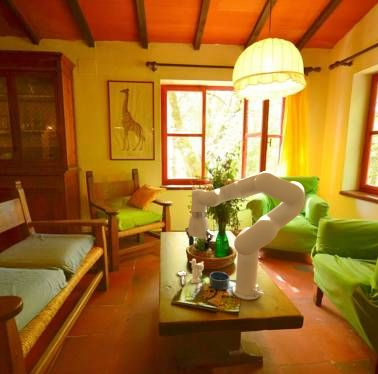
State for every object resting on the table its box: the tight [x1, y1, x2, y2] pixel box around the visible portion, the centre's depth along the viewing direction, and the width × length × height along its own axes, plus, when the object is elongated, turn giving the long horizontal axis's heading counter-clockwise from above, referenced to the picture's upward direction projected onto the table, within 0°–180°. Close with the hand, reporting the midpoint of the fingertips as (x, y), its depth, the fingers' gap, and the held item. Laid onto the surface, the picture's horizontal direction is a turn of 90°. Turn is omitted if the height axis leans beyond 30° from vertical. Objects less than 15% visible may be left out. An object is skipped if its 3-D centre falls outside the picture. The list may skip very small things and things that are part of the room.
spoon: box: [177, 270, 187, 286], centre depth 132 cm, size 14×4×1 cm, turn 4°
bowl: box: [208, 271, 231, 291], centre depth 126 cm, size 10×10×5 cm
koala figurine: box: [188, 258, 205, 284], centre depth 130 cm, size 8×7×12 cm
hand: (198, 247), depth 128 cm, fingers open, 9 cm apart
